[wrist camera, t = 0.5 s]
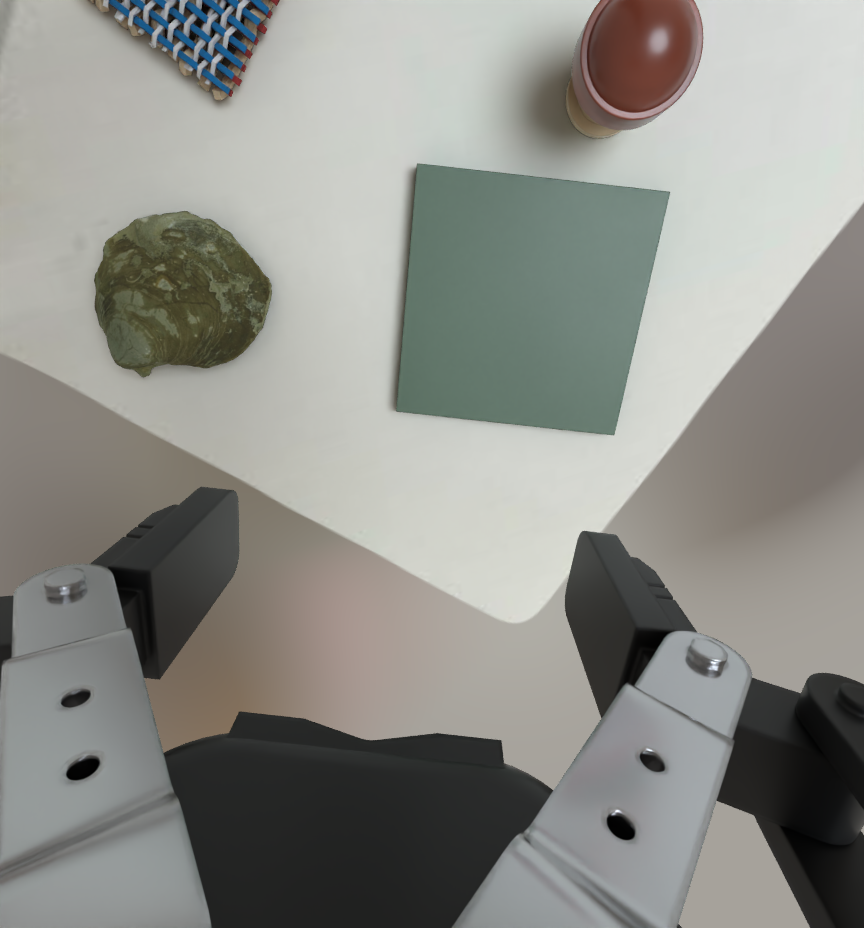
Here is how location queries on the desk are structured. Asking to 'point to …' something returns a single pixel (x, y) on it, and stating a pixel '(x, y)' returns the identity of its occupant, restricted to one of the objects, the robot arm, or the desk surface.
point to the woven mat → (198, 33)
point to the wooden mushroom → (632, 63)
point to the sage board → (524, 297)
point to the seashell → (178, 294)
